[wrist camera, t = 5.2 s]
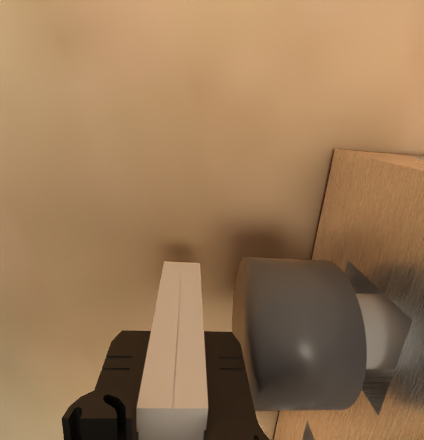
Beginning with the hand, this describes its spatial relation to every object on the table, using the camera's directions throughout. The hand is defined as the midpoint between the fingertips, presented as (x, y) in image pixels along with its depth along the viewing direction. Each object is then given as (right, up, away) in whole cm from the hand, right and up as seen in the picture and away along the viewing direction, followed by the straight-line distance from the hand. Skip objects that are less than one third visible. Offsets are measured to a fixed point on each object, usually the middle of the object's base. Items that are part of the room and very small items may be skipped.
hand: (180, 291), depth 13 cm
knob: (+8, 0, +1) cm, 8 cm away
